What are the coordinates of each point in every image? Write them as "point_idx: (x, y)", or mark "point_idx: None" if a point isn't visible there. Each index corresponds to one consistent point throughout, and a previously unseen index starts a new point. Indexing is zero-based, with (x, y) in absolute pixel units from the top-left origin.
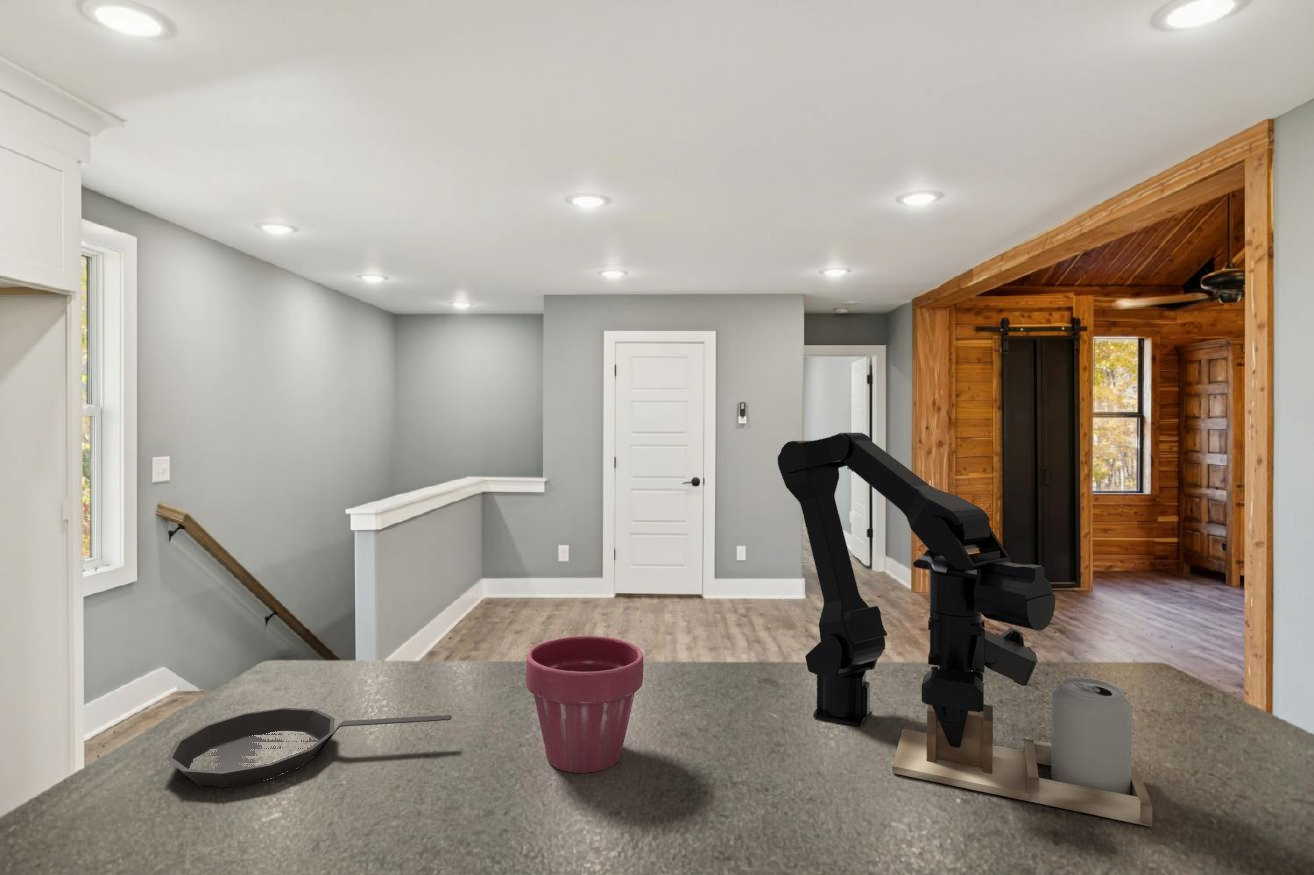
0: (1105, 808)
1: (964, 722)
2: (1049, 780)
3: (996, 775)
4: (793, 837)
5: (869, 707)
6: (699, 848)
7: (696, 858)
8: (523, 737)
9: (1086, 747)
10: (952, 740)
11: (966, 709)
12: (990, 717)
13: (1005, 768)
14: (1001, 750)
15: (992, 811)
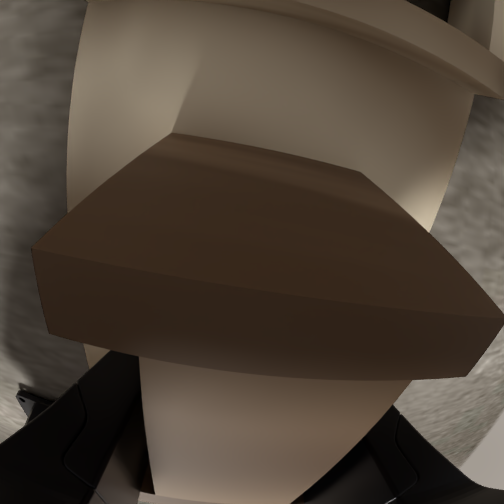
0: None
1: (408, 424)
2: (496, 22)
3: (370, 158)
4: (466, 431)
5: (38, 411)
6: (456, 460)
7: (466, 456)
8: None
9: None
10: None
11: None
12: (432, 331)
13: (299, 101)
14: (108, 87)
15: (488, 211)
